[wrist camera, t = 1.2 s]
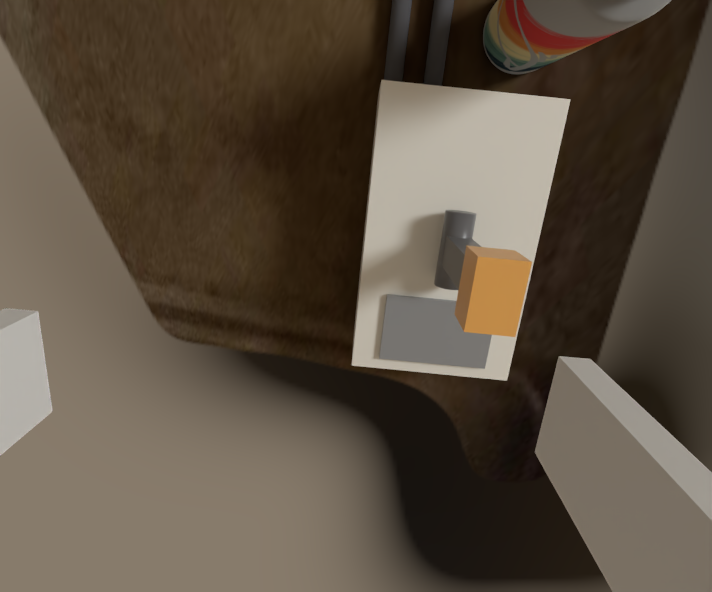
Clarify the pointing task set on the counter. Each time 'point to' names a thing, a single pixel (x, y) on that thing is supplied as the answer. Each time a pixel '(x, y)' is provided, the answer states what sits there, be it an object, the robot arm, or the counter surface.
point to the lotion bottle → (555, 28)
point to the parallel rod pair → (435, 46)
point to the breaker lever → (481, 278)
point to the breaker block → (427, 211)
